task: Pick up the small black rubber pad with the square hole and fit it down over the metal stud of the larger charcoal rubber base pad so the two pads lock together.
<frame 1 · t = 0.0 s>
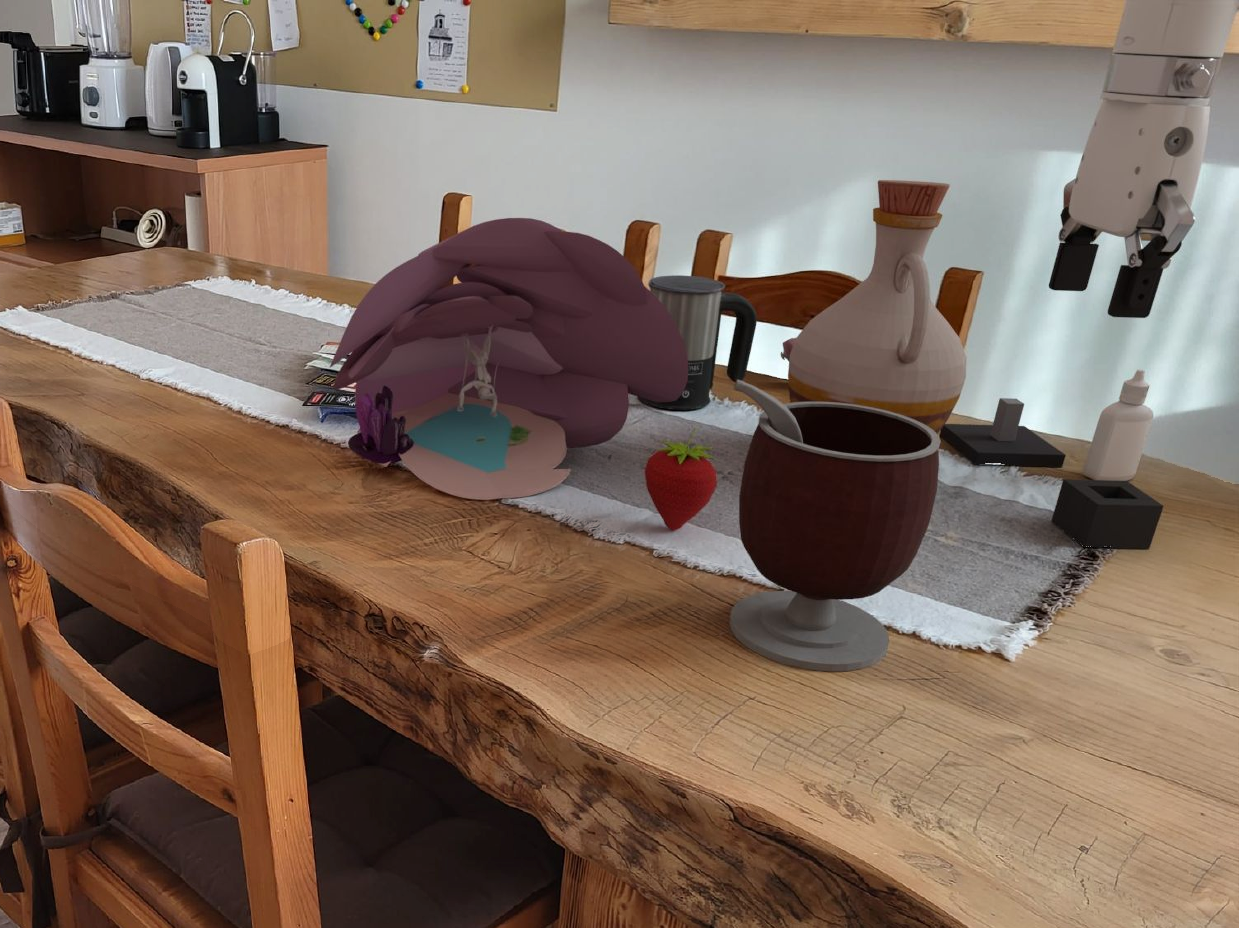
hand: (1095, 302, 98), 23 cm above the table, tool pointing down, fingers open, 9 cm apart
milk frother: (673, 393, 152), on the table
jug: (857, 469, 128), on the table
base pad: (998, 451, 135), on the table
video game controller: (803, 383, 158), on the table
purple rock cave: (485, 466, 125), on the table
strawberry: (672, 531, 111), on the table
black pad: (1099, 535, 114), on the table
eye dropper bottle: (1107, 478, 128), on the table
mate gourd: (796, 633, 93), on the table
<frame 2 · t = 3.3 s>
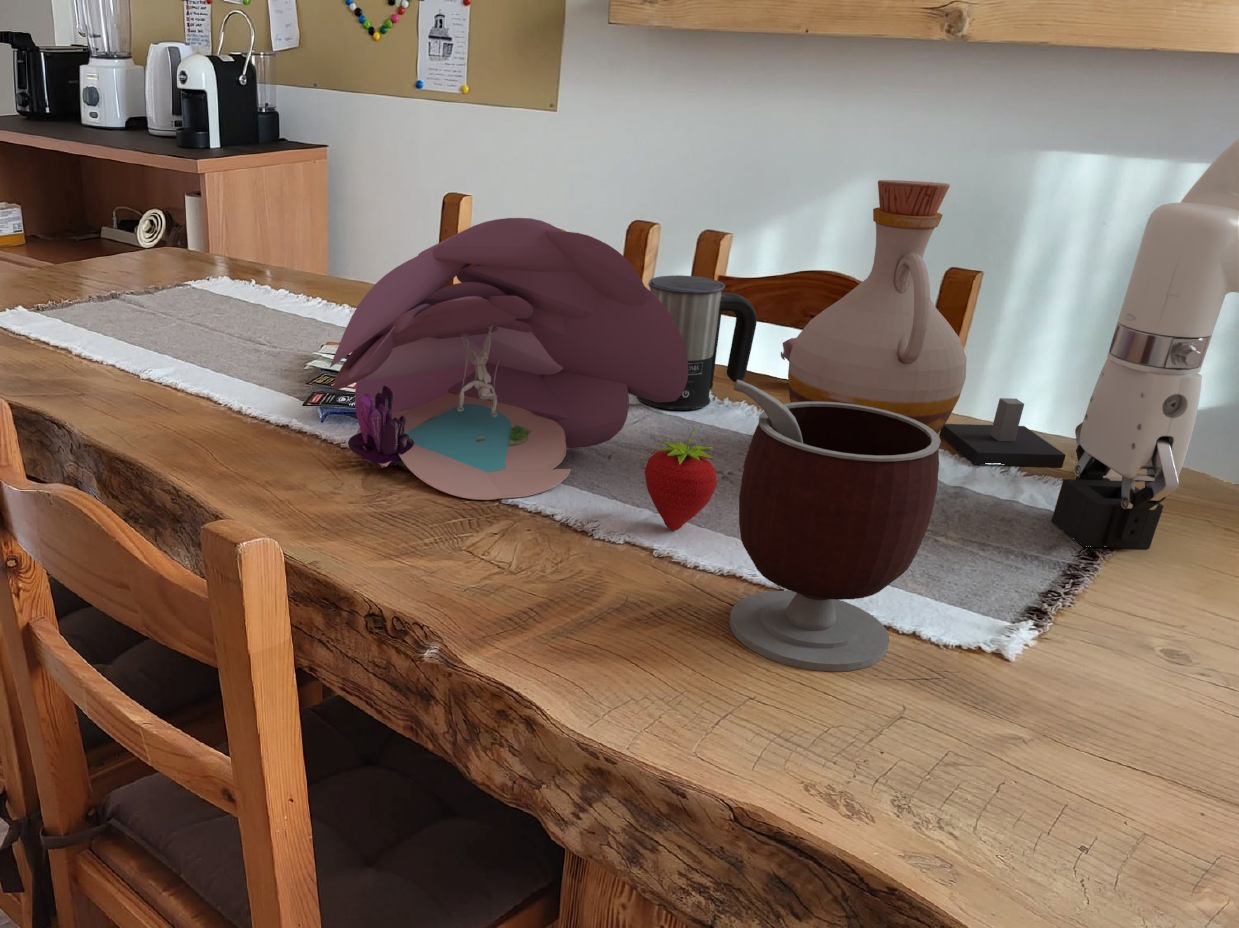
hand: (1100, 528, 113), 1 cm above the table, tool pointing down, fingers closed on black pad, 6 cm apart
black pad: (1098, 535, 114), on the table, touching gripper
everything else where it was.
when the fingers open (2 cm above the table, at t = 10.8 s): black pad stays where it is, resting on base pad.
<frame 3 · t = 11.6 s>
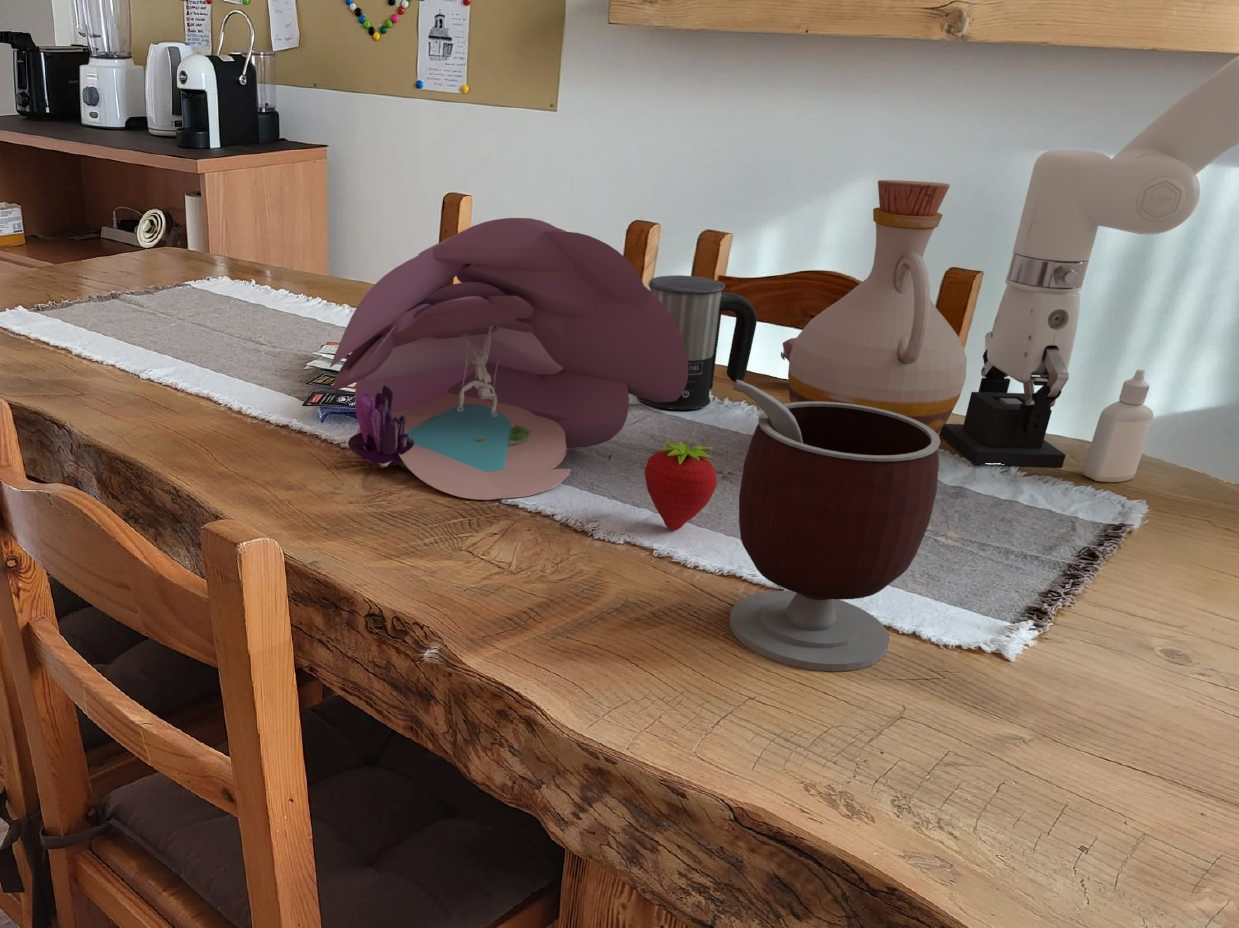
hand: (1006, 424, 134), 3 cm above the table, tool pointing down, fingers open, 9 cm apart
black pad: (1001, 438, 134), point 1 cm above the table, touching base pad
everything else where it was.
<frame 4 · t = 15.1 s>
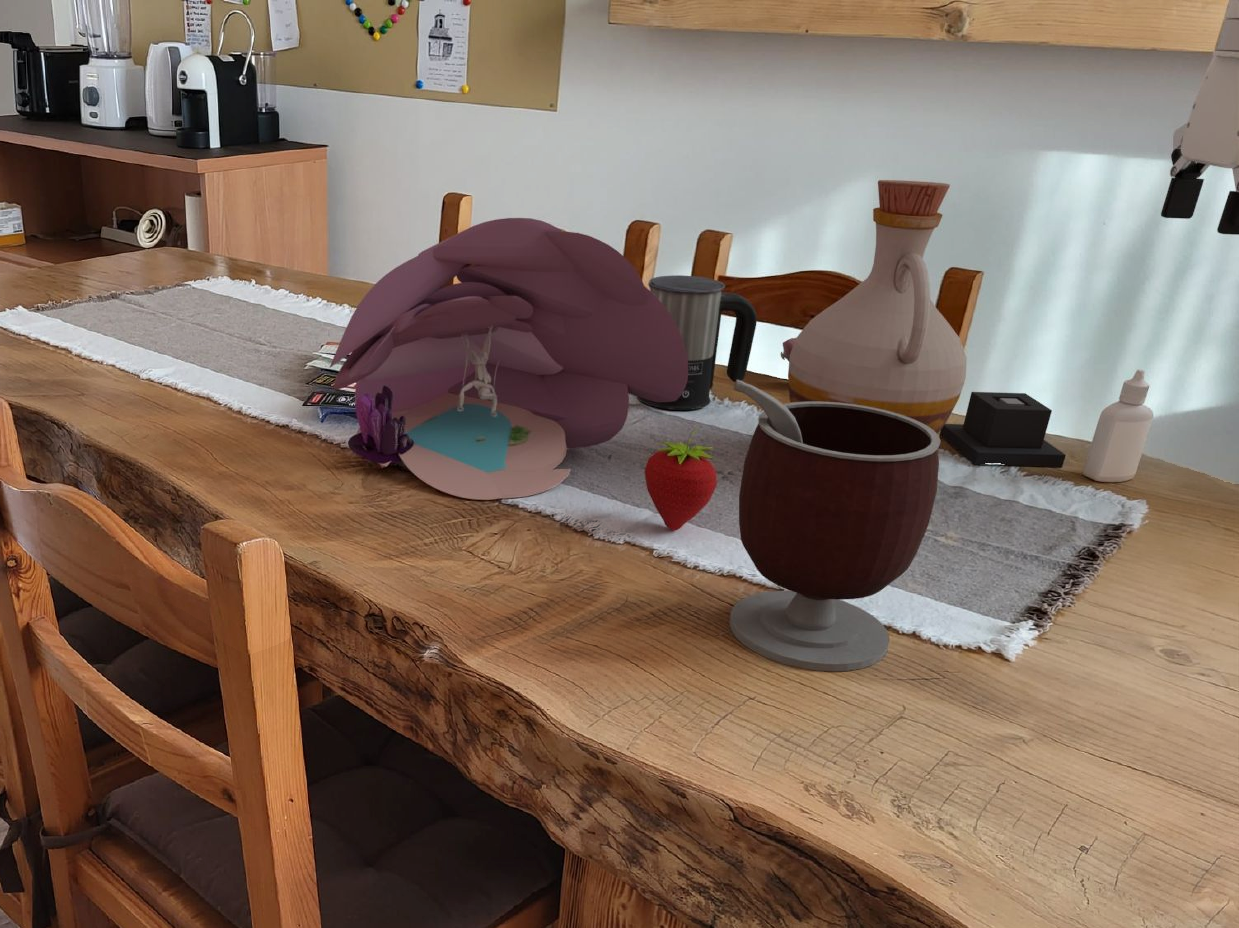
hand: (1203, 225, 120), 26 cm above the table, tool pointing down, fingers open, 9 cm apart
nothing on the table moved.
at the end: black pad 0.1 cm off-centre on the base pad, point 1.5 cm above the base pad's base; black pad tilted 0°; the gripper is holding nothing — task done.
